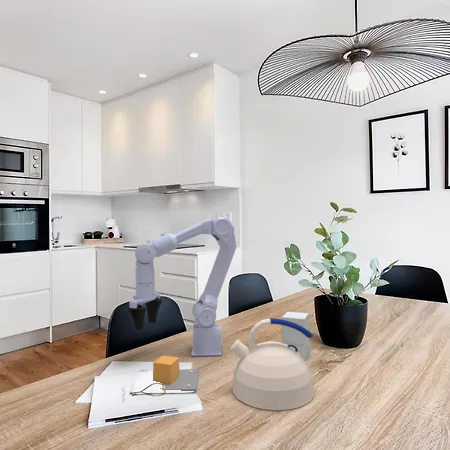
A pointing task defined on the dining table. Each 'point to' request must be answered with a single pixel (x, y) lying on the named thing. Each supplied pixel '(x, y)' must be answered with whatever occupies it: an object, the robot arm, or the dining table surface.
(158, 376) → the orange cube
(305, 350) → the supplement box
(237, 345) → the kettle
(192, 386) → the plate
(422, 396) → the dining table surface
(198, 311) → the robot arm
